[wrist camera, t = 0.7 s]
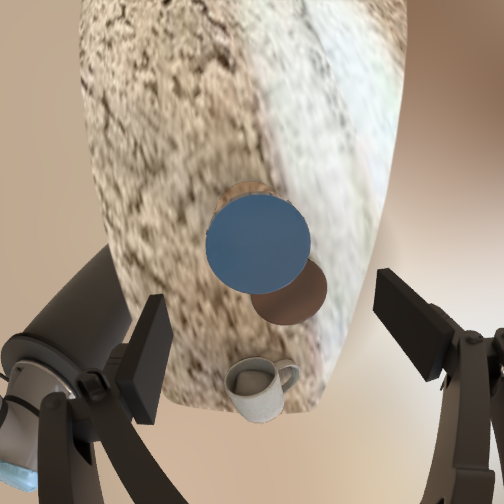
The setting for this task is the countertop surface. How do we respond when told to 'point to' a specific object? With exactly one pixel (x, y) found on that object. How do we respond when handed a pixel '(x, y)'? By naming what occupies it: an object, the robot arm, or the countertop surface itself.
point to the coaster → (294, 298)
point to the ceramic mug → (259, 387)
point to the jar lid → (257, 242)
